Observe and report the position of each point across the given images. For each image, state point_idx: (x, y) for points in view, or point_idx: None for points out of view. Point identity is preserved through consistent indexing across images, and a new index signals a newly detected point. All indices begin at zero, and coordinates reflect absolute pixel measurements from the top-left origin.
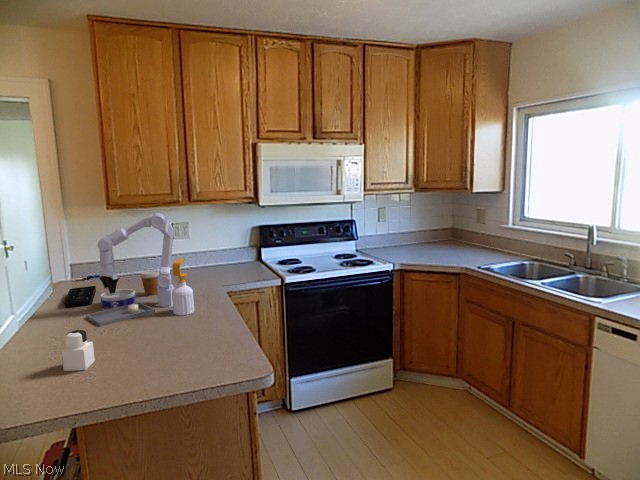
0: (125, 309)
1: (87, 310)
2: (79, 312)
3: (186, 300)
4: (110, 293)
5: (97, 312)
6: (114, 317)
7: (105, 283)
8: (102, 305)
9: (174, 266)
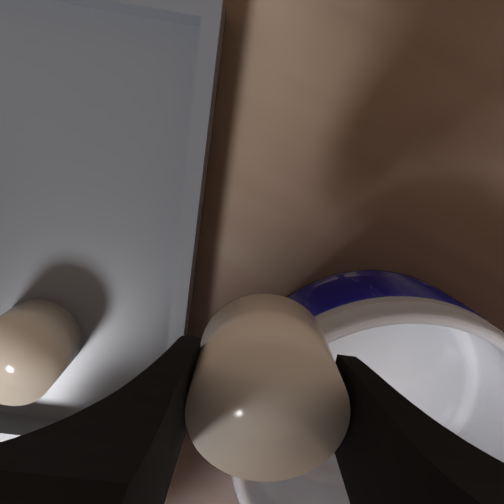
0: (164, 337)
1: (465, 167)
2: (483, 93)
3: None
4: (185, 336)
5: (196, 115)
6: (24, 174)
7: (390, 460)
8: (401, 278)
9: None
